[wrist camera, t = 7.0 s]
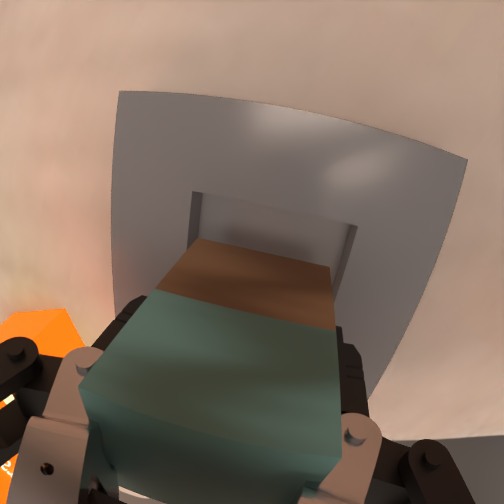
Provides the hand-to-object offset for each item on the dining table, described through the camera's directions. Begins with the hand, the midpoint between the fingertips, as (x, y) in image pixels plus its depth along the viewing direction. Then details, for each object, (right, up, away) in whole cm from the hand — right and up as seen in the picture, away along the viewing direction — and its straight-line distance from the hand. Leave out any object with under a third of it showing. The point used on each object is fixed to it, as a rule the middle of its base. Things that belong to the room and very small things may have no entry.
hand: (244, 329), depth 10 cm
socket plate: (+1, +2, +6) cm, 6 cm away
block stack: (0, +1, +1) cm, 1 cm away
